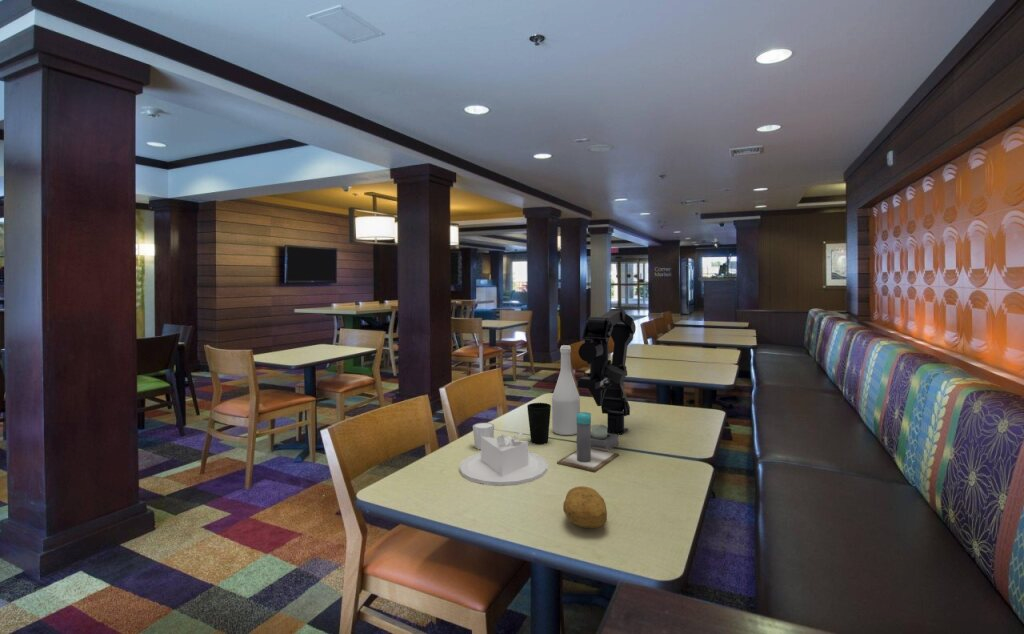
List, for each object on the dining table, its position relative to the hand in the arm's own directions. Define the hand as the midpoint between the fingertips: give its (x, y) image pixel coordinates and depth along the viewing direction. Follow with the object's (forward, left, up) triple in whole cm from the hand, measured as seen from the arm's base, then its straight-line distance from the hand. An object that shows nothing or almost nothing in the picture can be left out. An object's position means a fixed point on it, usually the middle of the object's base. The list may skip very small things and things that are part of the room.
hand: (599, 405), depth 162 cm
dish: (+32, -14, -13) cm, 37 cm away
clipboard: (+13, +3, -13) cm, 18 cm away
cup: (+7, -18, -13) cm, 23 cm away
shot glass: (+21, -30, -13) cm, 39 cm away
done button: (0, 0, -10) cm, 10 cm away
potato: (+48, +20, -13) cm, 54 cm away
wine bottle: (-7, -16, -13) cm, 22 cm away
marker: (+16, +3, -12) cm, 20 cm away
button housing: (0, 0, -13) cm, 13 cm away
